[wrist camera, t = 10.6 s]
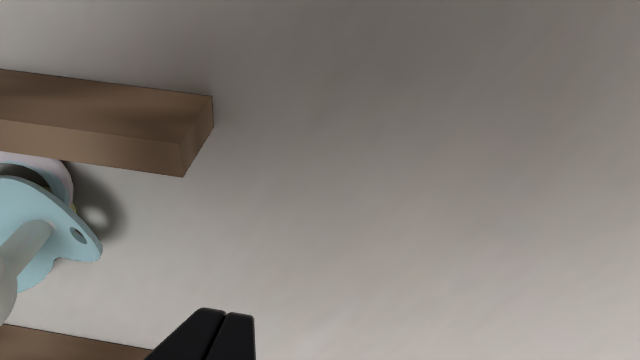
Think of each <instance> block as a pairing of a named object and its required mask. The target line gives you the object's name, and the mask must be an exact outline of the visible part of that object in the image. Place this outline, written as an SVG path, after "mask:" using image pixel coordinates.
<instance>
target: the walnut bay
mask: <svg viewBox="0 0 640 360" xmlns="http://www.w3.org/2000/svg"><path fill="white" fill-rule="evenodd" d="M213 128H214V125H213V109H212V96H205V95H197V94H189V93H182V92H174V91H166V90H158V89H151V88H143V87H135V86H127V85H119V84H112V83H104V82H96V81H88V80H81V79H73V78H65V77H57V76H50V75H42V74H34V73H26V72H18V71H11V70H3V69H0V151H3V152H10V153H17V154H24V155H31V156H38V157H45V158H51V159H58V160H65V161H72V162H79V163H86V164H93V165H100V166H107V167H114V168H121V169H128V170H135V171H142V172H148V173H155V174H162V175H169V176H176V177H183V176H184V175H185V173H186V172H187V170H188V168H189V167H190V165H191V163H192V162H193V160H194V159H195V157H196V155H197V154H198V152H199V150H200V149H201V147H202V146H203V144H204V142H205V141H206V139H207V137H208V136H209V134H210V133H211V131H212V129H213ZM152 351H153V350H147V349H141V348H136V347H130V346H124V345H119V344H113V343H107V342H102V341H96V340H90V339H85V338H79V337H73V336H68V335H62V334H57V333H51V332H45V331H40V330H34V329H28V328H23V327H17V326H11V325H6V324H2V325H1V326H0V360H143V359H144V358H145V357H146V356H147V355H148V354H149V353H151V352H152Z"/></svg>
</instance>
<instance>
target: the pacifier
mask: <svg viewBox="0 0 640 360" xmlns="http://www.w3.org/2000/svg"><path fill="white" fill-rule="evenodd" d="M0 163H13V164H17V165H22V166H25V167H27V168H30V169H32V170H34V171H36V172H37V173H38V174H40V175H41V176H42V177H43V178H44V179H45V180H46V181H47V183H48V184H49V186H50V187H51V188H48V187H41V186H39V185H37V184H35V183H33V182H31V181H29V180H26V179H24V178H21V177H16V176H8V175H2V176H0V326H1V325H2V324H3V323H4V322H5V320H6V319H7V318H8V316H9V314H10V313H11V311H12V309H13V306H14V304H15V301H16V297H17V293H19V292H22V291H25V290H27V289H29V288H31V287H33V286H35V285H36V284H37V283H39V282H40V281H42V280H43V279H44V278H45V276H46V275H47V274H48V273H49V271H50V270H51V268H52V266H53V264H54V261H55V259H56V258H58V257H64V258H66V259H70V260H75V261H82V262H93V261H97V260H98V259H99V258H100V256H101V254H102V251H103V247H102V245H101V243H100V241H99V240H98V238H97V237H96V235H95V234H94V233H93V232H92V230H91V229H90V228H89V227H88V226H87V224H86V223H85V222H84V221H83V220H82V219H81V218H80V217H79V216H78V215H77V214H76V213H77V212H76V208H75V206H74V204H73V202H72V200H73V183H72V180H71V176H70V174H69V172H68V171H67V169H66V168H65V166H64V165H63V163H62V162H61V161H60V160H58V159H51V158H45V157H38V156H31V155H24V154H17V153H10V152H3V151H0ZM75 229H77V230H78V231H80V232H81V233H82V235H83V236H84V237H85V238H84V237H82V236H81V235H80V234H79V233H78V232H77V231H76V230H75Z"/></svg>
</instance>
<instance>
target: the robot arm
mask: <svg viewBox="0 0 640 360" xmlns="http://www.w3.org/2000/svg"><path fill="white" fill-rule="evenodd" d="M143 360H256V351H255V329H254V318H253V316H251V315H246V314H240V313H235V312H230V313H228V314H226V312H225V311H222V310H217V309H211V308H200V309H198V310H197V311H195V312H194V313H193V314H192V315H191V316H190V317H189V318H188V319H187V320H186V321H184V322H183V323H182V324H181V325H180V326H179V327H178V328H177V329H176V330H175V331H174V332H172V333H171V334H170V335H169V336H168V337H167V338H166V339H165V340H164V341H163V342H161V343H160V344H159V345H158V346H157V347H156V348H155V349H154V350H153V351H152V352H151V353H149V354H148V355H147V356H146V357H145V358H144V359H143Z"/></svg>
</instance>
